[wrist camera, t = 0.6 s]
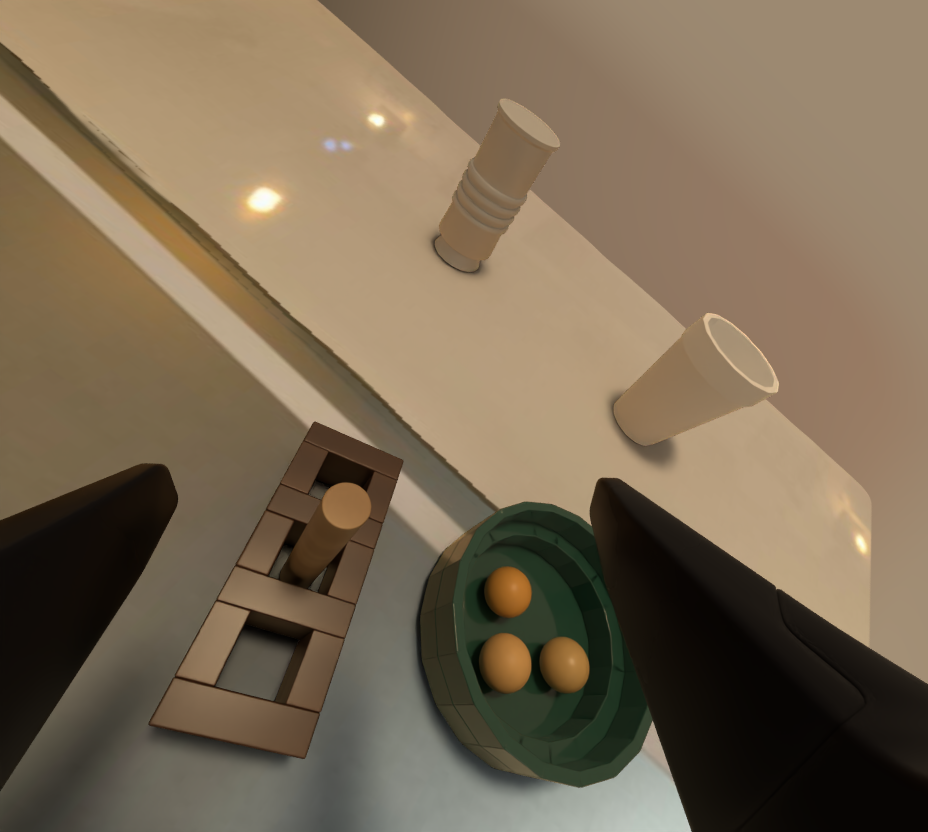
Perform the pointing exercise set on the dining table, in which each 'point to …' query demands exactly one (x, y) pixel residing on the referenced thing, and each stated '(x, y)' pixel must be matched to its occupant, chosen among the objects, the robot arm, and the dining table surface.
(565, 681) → the bead
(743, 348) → the foam cup
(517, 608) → the bead
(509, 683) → the bead
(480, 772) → the dining table surface
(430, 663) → the bowl
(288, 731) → the rack
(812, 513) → the dining table surface
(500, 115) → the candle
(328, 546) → the stick
